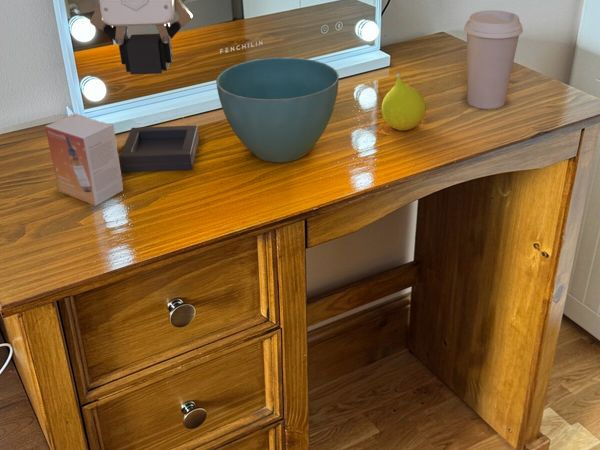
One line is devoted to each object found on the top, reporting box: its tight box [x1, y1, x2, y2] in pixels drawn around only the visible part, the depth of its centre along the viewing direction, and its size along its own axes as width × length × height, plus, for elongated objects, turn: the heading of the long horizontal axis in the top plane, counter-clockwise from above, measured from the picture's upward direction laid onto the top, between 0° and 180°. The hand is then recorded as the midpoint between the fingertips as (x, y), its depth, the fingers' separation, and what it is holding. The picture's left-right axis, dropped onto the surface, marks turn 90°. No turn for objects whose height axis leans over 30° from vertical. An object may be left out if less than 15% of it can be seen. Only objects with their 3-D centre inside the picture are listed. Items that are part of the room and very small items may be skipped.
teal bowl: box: [215, 57, 340, 163], centre depth 117 cm, size 18×18×12 cm
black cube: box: [126, 33, 164, 76], centre depth 111 cm, size 4×4×4 cm
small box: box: [44, 112, 124, 207], centre depth 108 cm, size 8×6×10 cm
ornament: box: [380, 66, 427, 131], centre depth 124 cm, size 7×7×10 cm
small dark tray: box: [119, 124, 200, 173], centre depth 119 cm, size 11×11×3 cm
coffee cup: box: [463, 10, 524, 110], centre depth 131 cm, size 10×10×15 cm
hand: (148, 66), depth 112 cm, fingers closed on black cube, 4 cm apart
